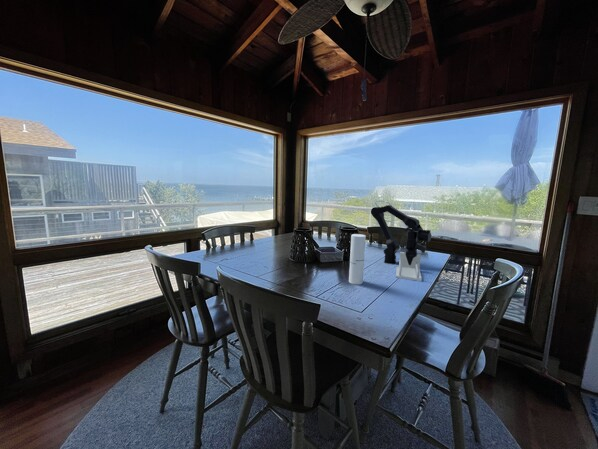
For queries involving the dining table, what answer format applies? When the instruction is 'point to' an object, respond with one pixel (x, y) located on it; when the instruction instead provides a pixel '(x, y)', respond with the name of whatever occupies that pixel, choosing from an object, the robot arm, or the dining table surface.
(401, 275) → the rack
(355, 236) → the cylindrical container
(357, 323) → the dining table surface
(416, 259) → the tile
